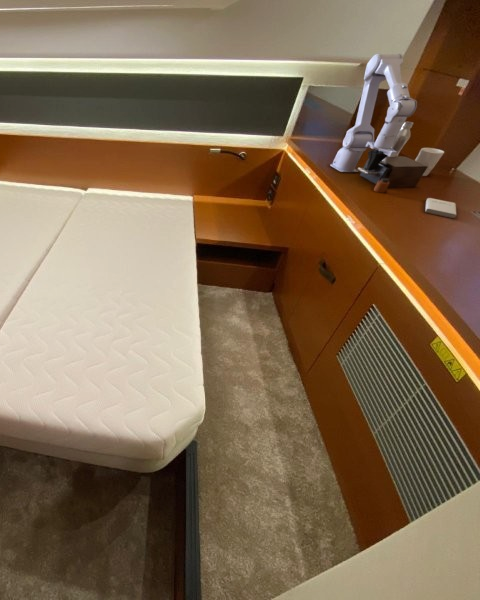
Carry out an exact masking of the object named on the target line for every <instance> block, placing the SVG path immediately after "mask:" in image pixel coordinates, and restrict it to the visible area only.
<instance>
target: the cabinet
mask: <svg viewBox="0 0 480 600" xmlns="http://www.w3.org/2000/svg"><path fill="white" fill-rule="evenodd" d="M381 163H383V164H385V165H387V166H389V167H391V168H392V169H391V171H390V172H389V174H388V176H387V179H389V185H388V187H387V188H416V187H417V185H418V183H419V182H420V180H421V179H422V177H423V176H422V175H423V174H424V172H425V170H426V169H427V167H428V166H426V165H424V164H421V163H419V162H417V161H415V159H412V158H409V157H408V156H399V155H398V157H386V158H384V159H383V160H382V161H381Z"/></svg>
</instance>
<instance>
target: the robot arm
mask: <svg viewBox="0 0 480 600" xmlns="http://www.w3.org/2000/svg"><path fill="white" fill-rule="evenodd" d="M403 64H404V56H403V54H401V53H397V54H396V53H395V54H389V53H388V54H383V53H382V54H381V53H375V54H374V55H373V56H372V57H371V58H370V59H369V61H368V62H367V63H366V66H365V72H364V76H363V80H364V84H363V89H362V92H361V96H360V97H361V98H360V102H359V106H358V111H357V115H356V120H355V124H354V126H353V127H351V128H349V129H348V130H347V131H346V134H345V136H344V138H343V140H342V147H341V148H340V149H339V150H338V151H337V153H336V154H335V157H334V159H333V161H332V163H331V164H329V166H330V167H332V168H333V169H335V170H337V171H338V172H340V173H359V170H357V169H356V168H357V165H358V163H359V161H360V160H361V157H362V156H363V153H364V152H366V151H367V149H369V148H370V149H372V150H368V152H367V155H368V158H367V160H368V165H367V170H374V168H375V167H376V166H377V165H378V164H379V163H380V162H381V161H382V160H383V159H384V158H386V157H387V156H388V157H395V155H396V153H397V152H396V151H395V150H393V149H392V148H391V146H392V144H393V142H394V140H395V139H396V137H397V135H398V133H399V131H400V129H401V128H402V126H403V124H404V122H406V120H407V118H409V117H411V116H412V115H414V113H415V112H416V109H417V107H418V102H417V100H416V99H413V98H412V97H411V95H410V91H409V86H408V84H407V83H405V82H403V80H402V71H401V67H402V66H403ZM384 81H386V82H387V84H388V86H389V87H388V88H389V89H388V90H387V91H386V96H387V100H388V103H389V106H388V107H387V111H386V116H385V118H384V124H383V126H382V128H381V129H380V132H379V134H378V136H377V137H376V140H375V128H374V127H373V126H372V125H371V123H372V118H373V114H374V109H375V106H376V101H377V97H378V92H379V87H380V84H381V83H382V82H384Z"/></svg>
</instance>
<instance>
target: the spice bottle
mask: <svg viewBox="0 0 480 600" xmlns="http://www.w3.org/2000/svg"><path fill="white" fill-rule="evenodd" d="M388 185H389V179H387V178H382V179H381V180H379V181H378V182H377V184H375V186H374V188H373V191H374V192H377V193H385V192H386V190H387V188H389V187H388Z"/></svg>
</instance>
